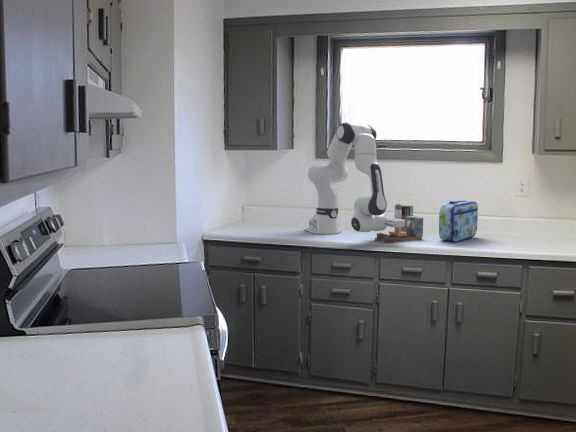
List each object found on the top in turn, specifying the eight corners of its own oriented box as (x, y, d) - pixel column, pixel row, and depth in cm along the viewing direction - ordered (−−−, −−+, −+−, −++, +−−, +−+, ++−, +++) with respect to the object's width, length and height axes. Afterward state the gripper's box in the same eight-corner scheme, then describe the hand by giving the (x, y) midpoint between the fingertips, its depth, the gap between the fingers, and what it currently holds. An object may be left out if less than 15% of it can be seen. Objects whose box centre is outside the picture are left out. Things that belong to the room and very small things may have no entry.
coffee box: (413, 234, 350) (414, 205, 348) (409, 236, 344) (410, 207, 342) (397, 233, 354) (398, 204, 352) (393, 234, 348) (394, 206, 346)
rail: (374, 240, 329) (374, 218, 327) (409, 236, 342) (410, 215, 341) (386, 243, 321) (387, 221, 319) (422, 239, 334) (423, 217, 332)
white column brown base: (389, 234, 332) (389, 203, 330) (397, 233, 335) (398, 202, 333) (398, 236, 326) (398, 204, 324) (406, 235, 329) (407, 204, 327)
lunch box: (453, 243, 321) (455, 203, 318) (435, 241, 329) (437, 201, 326) (479, 237, 339) (481, 199, 336) (461, 235, 347) (463, 197, 344)
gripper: (393, 218, 314) (413, 216, 321) (366, 213, 331) (386, 212, 338) (392, 230, 314) (413, 228, 322) (366, 225, 332) (386, 223, 339)
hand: (399, 220), depth 330 cm, fingers closed on white column brown base, 3 cm apart
